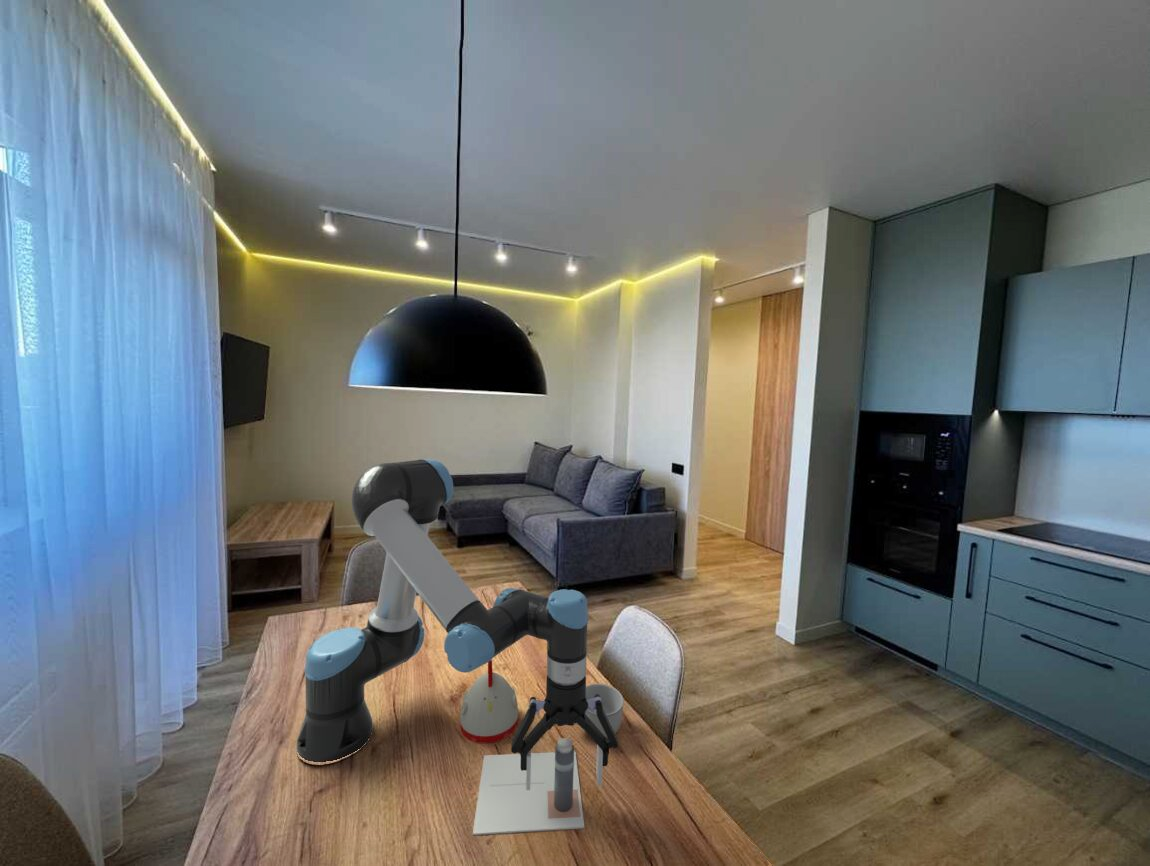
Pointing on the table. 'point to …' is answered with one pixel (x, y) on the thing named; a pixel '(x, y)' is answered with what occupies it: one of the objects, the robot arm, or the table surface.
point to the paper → (523, 796)
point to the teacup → (606, 705)
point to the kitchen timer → (489, 709)
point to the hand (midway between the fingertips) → (563, 782)
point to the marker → (564, 775)
